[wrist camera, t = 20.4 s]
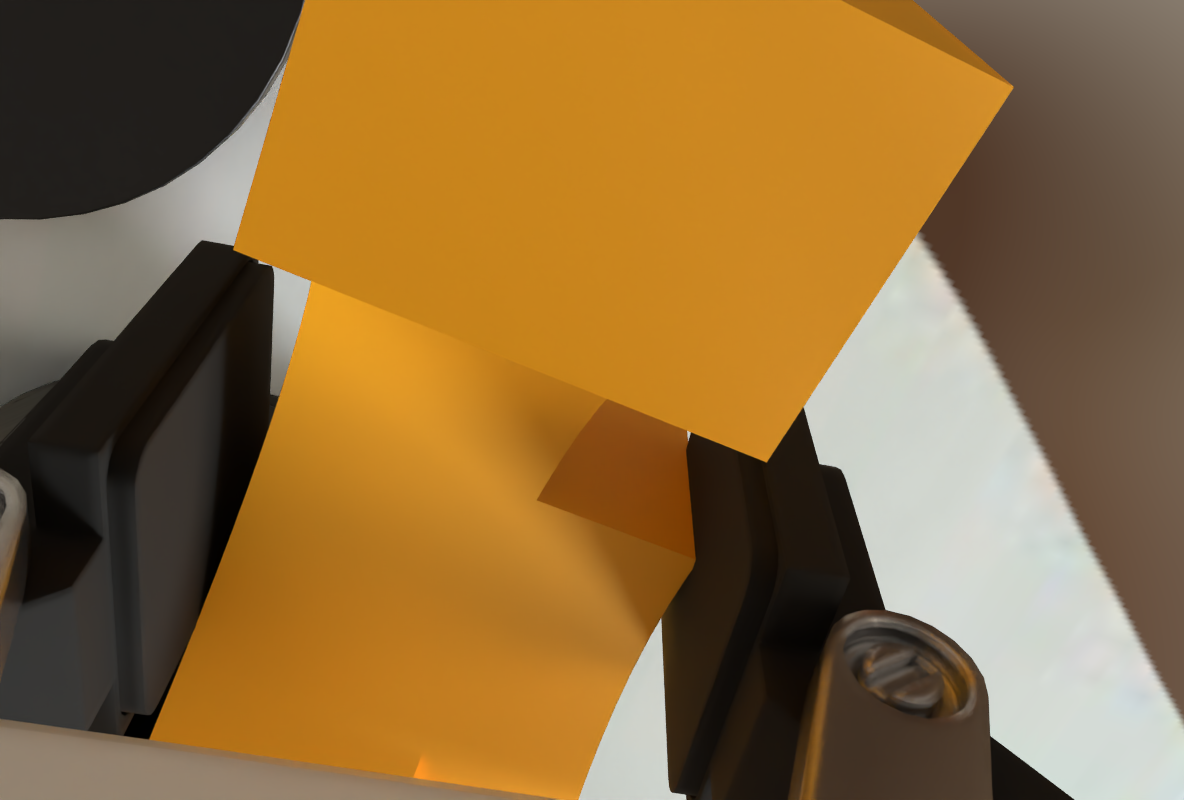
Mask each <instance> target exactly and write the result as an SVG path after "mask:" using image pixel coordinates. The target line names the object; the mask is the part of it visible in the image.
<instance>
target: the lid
mask: <svg viewBox="0 0 1184 800" xmlns="http://www.w3.org/2000/svg"><path fill="white" fill-rule="evenodd" d="M304 2H305V0H0V219H39V220H40V219H48V218H56V217H65V216H73V215H81V214H86V213H90V212H94V211H97V210H101V209H105V208H109V207H112V206H116V205H120V204H124V203H126V202H129V201H131V200H133V199H136V198H138V197H140V196H142V195H145V194H147V193H149V192H152V191H154V190H156V189H159V188H161V187H163V186H165V185H167V184H168V183H170V182H171V181H173V180H174V179H176V178H178V177H179V176H181V175H182V174H184V173H185V172H187V171H188V170H190V169H192V168H193V167H195V166H196V165H198V164H199V163H201V162H202V161H203V160H204V159H205V158H206V157H207V156H209V155H210V154H211V153H212V152H213V151H214V150H215V149H216V148H218V147H219V146H220V145H221V144H222V143H223V142H224V141H225V140H227V139H228V138H229V137H230V136H231V135H232V134H233V133H234V132H236V131H237V130H238V129H239V128H240V127H241V125H242V124H243V123H244V122H245V120H246V119H247V118H248V117H249V116H250V114H251V113H252V112H253V111H254V109H255V108H256V107H257V106H258V105H259V103H260V102H261V101H262V100H263V98H264V97H265V96H266V95H267V93H268V92H269V90H270V88H271V87H272V85H273V83H274V81H275V80H276V78H277V76H278V75H279V73H280V71H281V70H282V68H283V66H284V64H285V63H286V61H287V59H288V58H289V54H290V51H291V47H292V44H293V40H294V37H295V34H296V30H297V27H298V23H299V20H300V16H301V13H302V9H303V6H304Z"/></svg>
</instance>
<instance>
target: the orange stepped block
mask: <svg viewBox="0 0 1184 800" xmlns="http://www.w3.org/2000/svg"><path fill="white" fill-rule="evenodd" d="M1013 88H1014V87H1013V86H1012V85H1011V84H1010V83H1009V82H1007V81H1006V80H1005V79H1004V78H1003V77H1001V76H1000V75H999V74H998V73H997V72H996V71H995V70H993V69H992V68H991V67H990V66H988V65H987V64H986V63H985V62H984V61H983V60H982V59H981V58H979V57H978V56H977V55H976V54H975V53H974V52H972V51H971V50H970V49H969V48H968V47H967V46H965V45H964V44H963V43H962V42H961V41H960V40H958V39H957V38H956V37H955V36H954V35H953V34H951V33H950V32H949V31H948V30H946V29H945V28H944V27H943V26H942V25H941V24H940V23H938V22H937V21H936V20H935V19H934V18H933V17H931V16H930V15H929V14H928V13H927V12H926V11H925V10H923V9H922V8H921V7H920V6H918V4H916V3H915V2H914V1H913V0H305V2H304V6H303V9H302V13H301V16H300V20H299V23H298V27H297V30H296V34H295V37H294V40H293V44H292V47H291V51H290V54H289V58H288V61H287V65H286V68H285V72H284V75H283V78H282V82H281V85H280V89H279V92H278V96H277V99H276V103H275V106H274V110H273V113H272V116H271V120H270V123H269V127H268V130H267V134H266V137H265V141H264V144H263V148H262V151H261V155H260V158H259V161H258V165H257V168H256V172H255V175H254V179H253V182H252V186H251V189H250V193H249V196H248V199H247V203H246V206H245V210H244V213H243V217H242V220H241V224H240V227H239V231H238V234H237V237H236V241H235V244H234V248H233V250H234V251H237V252H239V253H242V254H245V255H247V256H250V257H252V258H255V259H257V260H260V261H262V262H265V263H267V264H270V265H272V266H275V267H277V268H280V269H282V270H285V271H287V272H290V273H292V274H295V275H297V276H300V277H302V278H305V279H307V280H310V281H311V286H310V290H309V295H308V299H307V303H306V306H305V310H304V314H303V318H302V322H301V326H300V329H299V333H298V336H297V340H296V343H295V347H294V350H293V354H292V357H291V360H290V364H289V367H288V370H287V373H286V377H285V380H284V383H283V386H282V390H281V393H280V396H279V399H278V402H277V405H276V408H275V411H274V414H273V417H272V420H271V423H270V426H269V429H268V432H267V435H266V438H265V441H264V444H263V447H262V449H261V452H260V455H259V458H258V461H257V464H256V467H255V469H254V472H253V475H252V478H251V481H250V483H249V486H248V489H247V492H246V495H245V497H244V500H243V503H242V506H241V508H240V511H239V514H238V516H237V519H236V522H235V525H234V527H233V530H232V533H231V535H230V538H229V541H228V543H227V546H226V548H225V551H224V554H223V556H222V559H221V562H220V564H219V567H218V570H217V572H216V575H215V577H214V580H213V582H212V585H211V588H210V590H209V593H208V595H207V598H206V600H205V603H204V606H203V608H202V611H201V613H200V616H199V618H198V621H197V623H196V627H195V629H194V631H193V633H192V636H191V638H190V641H189V643H188V646H187V648H186V651H185V653H184V656H183V658H182V661H181V663H180V666H179V668H178V671H177V673H176V675H175V678H174V680H173V683H172V685H171V688H170V690H169V693H168V695H167V698H166V700H165V702H164V705H163V707H162V710H161V712H160V714H159V717H158V719H157V722H156V724H155V726H154V729H153V731H152V734H151V736H150V738H149V740H154V741H162V742H169V743H176V744H183V745H190V746H197V747H204V748H211V749H218V750H225V751H232V752H239V753H246V754H253V755H260V756H267V757H273V758H280V759H287V760H294V761H301V762H308V763H315V764H322V765H329V766H336V767H342V768H349V769H356V770H363V771H370V772H377V773H384V774H391V775H397V776H404V777H411V778H418V779H425V780H432V781H438V782H445V783H452V784H459V785H466V786H472V787H479V788H486V789H493V790H500V791H506V792H513V793H520V794H527V795H534V796H541V797H547V798H554V799H561V800H578V799H579V796H580V793H581V790H582V788H583V785H584V782H585V779H586V777H587V774H588V772H589V769H590V766H591V764H592V761H593V759H594V756H595V754H596V751H597V748H598V746H599V743H600V741H601V739H602V736H603V734H604V732H605V729H606V727H607V725H608V722H609V720H610V718H611V715H612V713H613V711H614V708H615V706H616V704H617V702H618V700H619V697H620V695H621V693H622V691H623V689H624V687H625V685H626V683H627V681H628V678H629V676H630V674H631V672H632V670H633V668H634V666H635V664H636V662H637V661H638V659H639V657H640V655H641V653H642V651H643V649H644V647H645V645H646V643H647V642H648V640H649V638H650V636H651V634H652V633H653V631H654V629H655V627H656V626H657V624H658V622H659V621H660V619H661V617H662V615H663V614H664V612H665V610H666V609H667V607H668V605H669V604H670V602H671V601H672V599H673V598H674V596H675V595H676V593H677V591H678V590H679V588H680V587H681V585H682V584H683V582H684V581H685V579H686V578H687V576H688V575H689V573H690V572H691V571H692V569H693V566H694V563H695V560H696V556H695V545H694V534H693V523H692V512H691V501H690V489H689V478H688V467H687V456H686V448H687V445H688V437H687V431H689V432H692V433H694V434H697V435H699V436H702V437H704V438H707V439H709V440H712V441H714V442H717V443H719V444H722V445H724V446H727V447H729V448H732V449H734V450H737V451H739V452H742V453H744V454H747V455H749V456H752V457H754V458H757V459H759V460H762V461H765V462H767V461H768V460H769V458H770V457H771V455H772V454H773V452H774V451H775V449H776V448H777V446H778V445H779V443H780V441H781V440H782V438H783V437H784V435H785V434H786V432H787V431H788V429H789V428H790V426H791V425H792V423H793V422H794V420H795V419H796V417H797V416H798V414H799V413H800V411H801V410H802V408H803V407H804V405H805V404H806V402H807V400H808V399H809V397H810V396H811V394H812V393H813V391H814V390H815V388H816V387H817V385H818V384H819V382H820V381H821V379H822V378H823V376H824V375H825V373H826V372H827V370H828V369H829V367H830V366H831V364H832V362H833V361H834V359H835V358H836V356H837V355H838V353H839V352H840V350H841V349H842V347H843V346H844V344H845V343H846V341H847V340H848V338H849V337H850V335H851V334H852V332H853V331H854V329H855V328H856V326H857V325H858V323H859V321H860V320H861V318H862V317H863V315H864V314H865V312H866V311H867V309H868V308H869V306H870V305H871V303H872V302H873V300H874V299H875V297H876V296H877V294H878V293H879V291H880V290H881V288H882V287H883V285H884V284H885V282H886V280H887V279H888V277H889V276H890V274H891V273H892V271H893V270H894V268H895V267H896V265H897V264H898V262H899V261H900V259H901V258H902V256H903V255H904V253H905V252H906V250H907V249H908V247H909V246H910V244H911V243H912V241H913V239H914V238H915V236H916V235H917V233H918V232H919V230H920V229H921V227H922V226H923V224H924V223H925V221H926V220H927V218H928V217H929V215H930V214H931V212H932V211H933V209H934V207H935V206H936V204H937V203H938V201H939V200H940V198H941V197H942V195H943V194H944V192H945V191H946V189H947V188H948V186H949V185H950V183H951V182H952V180H953V179H954V177H955V176H956V174H957V173H958V171H959V170H960V168H961V167H962V165H963V164H964V162H965V160H966V159H967V157H968V156H969V154H970V153H971V151H972V150H973V148H974V147H975V145H976V144H977V142H978V141H979V139H980V138H981V136H982V134H983V133H984V132H985V130H986V128H987V127H988V126H989V124H990V122H991V121H992V119H993V118H994V116H995V115H996V113H997V112H998V110H999V109H1000V107H1001V106H1002V104H1003V103H1004V101H1005V100H1006V98H1007V97H1008V95H1009V94H1010V92H1011V90H1012V89H1013Z"/></svg>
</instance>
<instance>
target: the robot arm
mask: <svg viewBox="0 0 1184 800" xmlns="http://www.w3.org/2000/svg"><path fill="white" fill-rule="evenodd" d="M233 248H234V246H231V245H225V244H220V243H214V242H209V241H203V240H202V241H201V242H199V243H198V244H197V245H196V246H195V248H194V249H193V250H192V251H191V252H190V253H189V255H188V256H187V257H186V258H185V259H184V260H183V262H182V263H181V264H180V265H179V266H178V267H177V268H176V270H175V271H174V272H173V273H172V274H171V275H170V277H169V278H168V279H167V280H166V281H165V282H164V284H163V285H162V286H161V287H160V288H159V289H158V290H157V292H156V293H155V294H154V295H153V296H152V297H151V299H150V300H149V301H148V302H147V303H146V304H145V306H144V307H143V308H142V309H141V310H140V311H139V313H138V314H137V315H136V316H135V317H134V318H133V319H132V321H131V322H130V323H129V324H128V325H127V326H126V328H125V329H124V330H123V331H122V332H121V333H120V335H119V336H118V337H117V338H116V339H115V340H114V341H110V340H98V341H96V342H95V343H94V344H92V345H91V346H90V347H89V348H88V349H87V350H86V351H85V352H84V354H83V355H82V356H81V357H80V358H79V359H78V360H77V361H76V363H75V364H74V365H73V366H72V367H71V368H70V369H69V370H68V371H67V373H66V374H65V375H64V376H63V377H62V378H61V379H60V380H59V382H58V383H57V384H56V385H55V386H54V387H53V388H52V389H51V390H50V392H49V393H48V394H47V395H46V396H45V397H44V398H43V399H42V401H41V402H40V403H39V404H38V405H37V406H36V407H35V408H34V409H33V411H32V412H31V413H30V414H29V415H28V416H27V417H26V418H25V420H24V421H23V422H22V423H21V424H20V425H19V426H18V427H17V428H16V430H15V431H14V432H13V433H12V434H11V435H10V436H9V437H8V439H7V440H6V441H5V442H4V443H3V444H2V445H1V446H0V800H561V799H554V798H547V797H541V796H534V795H527V794H520V793H513V792H506V791H500V790H493V789H486V788H479V787H472V786H466V785H459V784H452V783H445V782H438V781H432V780H425V779H418V778H411V777H404V776H397V775H391V774H384V773H377V772H370V771H363V770H356V769H349V768H342V767H336V766H329V765H322V764H315V763H308V762H301V761H294V760H287V759H280V758H273V757H267V756H260V755H253V754H246V753H239V752H232V751H225V750H218V749H211V748H204V747H197V746H190V745H183V744H176V743H169V742H162V741H154V740H147V739H140V738H133V737H126V736H123V735H124V733H125V731H126V729H127V727H128V725H129V723H130V721H131V720H132V718H133V716H134V714H135V713H136V714H143V715H151V714H152V713H153V711H154V710H155V709H156V707H157V705H158V703H159V701H160V699H161V697H162V695H163V693H164V691H165V689H166V687H167V685H168V683H169V681H170V679H171V677H172V674H173V672H174V670H175V668H176V666H177V664H178V662H179V660H180V658H181V656H182V654H183V652H184V650H185V648H186V646H187V644H188V642H189V640H190V638H191V635H192V633H193V631H194V629H195V627H196V623H197V621H198V618H199V616H200V613H201V611H202V608H203V606H204V603H205V600H206V598H207V595H208V593H209V590H210V588H211V585H212V582H213V580H214V577H215V575H216V572H217V570H218V567H219V564H220V562H221V559H222V556H223V554H224V551H225V548H226V546H227V543H228V541H229V538H230V535H231V533H232V530H233V527H234V525H235V522H236V519H237V516H238V514H239V511H240V508H241V506H242V503H243V500H244V497H245V495H246V492H247V489H248V486H249V483H250V481H251V478H252V475H253V472H254V469H255V467H256V464H257V461H258V458H259V455H260V452H261V449H262V447H263V444H264V441H265V438H266V435H267V432H268V429H269V408H270V381H271V353H272V325H273V298H274V272H273V268H272V266H269V265H263V264H258V260H257V259H255V258H252V257H250V256H247V255H245V254H242V253H239V252H237V251H234V250H233ZM686 456H687V467H688V478H689V489H690V501H691V512H692V523H693V534H694V545H695V556H696V560H695V563H694V566H693V569H692V571H691V572H690V573H689V575H688V576H687V578H686V579H685V581H684V582H683V584H682V585H681V587H680V588H679V590H678V591H677V593H676V595H675V596H674V598H673V599H672V601H671V602H670V604H669V605H668V607H667V609H666V610H665V612H664V614H663V615H662V617H661V619H662V642H663V665H664V688H665V711H666V734H667V757H668V780H669V788H670V791H671V792H672V793H679V794H685V795H686V799H687V800H1074V799H1073V798H1071V797H1070V796H1069V795H1068V794H1066V793H1065V792H1064V791H1062V790H1061V789H1060V788H1058V787H1057V786H1056V785H1054V784H1053V783H1052V782H1050V781H1049V780H1048V779H1046V778H1045V777H1044V776H1042V775H1041V774H1040V773H1038V772H1037V771H1036V770H1034V769H1033V768H1032V767H1030V766H1029V765H1028V764H1026V763H1025V762H1024V761H1023V760H1021V759H1020V758H1019V757H1017V756H1016V755H1015V754H1013V753H1012V752H1011V751H1009V750H1008V749H1007V748H1005V747H1004V746H1003V745H1001V744H1000V743H999V742H997V741H996V740H995V739H993V738H992V737H991V736H990V723H989V700H988V693H987V689H986V685H985V681H984V677H983V676H982V674H981V672H980V671H979V669H978V668H977V666H976V664H975V663H974V661H973V659H972V658H971V657H970V656H969V655H968V654H967V653H966V652H965V651H964V650H963V649H962V648H961V647H960V646H959V645H958V644H957V643H956V642H955V641H954V640H952V639H951V638H949V637H948V636H946V635H945V634H943V633H942V632H940V631H939V630H937V629H936V628H935V627H933V626H931V625H929V624H926V623H924V622H922V621H920V620H917V619H915V618H913V617H911V616H908V615H904V614H899V613H895V612H891V611H887V610H885V607H884V604H883V600H882V597H881V594H880V591H879V587H878V584H877V581H876V578H875V574H874V571H873V568H872V564H871V561H870V558H869V555H868V551H867V548H866V545H865V541H864V538H863V535H862V532H861V528H860V525H859V522H858V519H857V515H856V512H855V509H854V505H853V502H852V499H851V496H850V492H849V489H848V486H847V482H846V479H845V477H844V475H843V473H842V471H841V470H840V469H838V468H837V467H832V466H827V465H821V464H819V462H818V458H817V455H816V451H815V447H814V444H813V440H812V436H811V433H810V429H809V426H808V422H807V418H806V415H805V411H804V407H803V408H802V410H801V411H800V413H799V414H798V416H797V417H796V419H795V420H794V422H793V423H792V425H791V426H790V428H789V429H788V431H787V432H786V434H785V435H784V437H783V438H782V440H781V441H780V443H779V445H778V446H777V448H776V449H775V451H774V452H773V454H772V455H771V457H770V458H769V460H768V461H767V462H765V461H762V460H759V459H757V458H754V457H752V456H749V455H747V454H744V453H742V452H739V451H737V450H734V449H732V448H729V447H727V446H724V445H722V444H719V443H717V442H714V441H712V440H709V439H707V438H704V437H702V436H699V435H697V434H694V433H692V432H691V435H690V438H689V441H688V445H687V448H686Z"/></svg>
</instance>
